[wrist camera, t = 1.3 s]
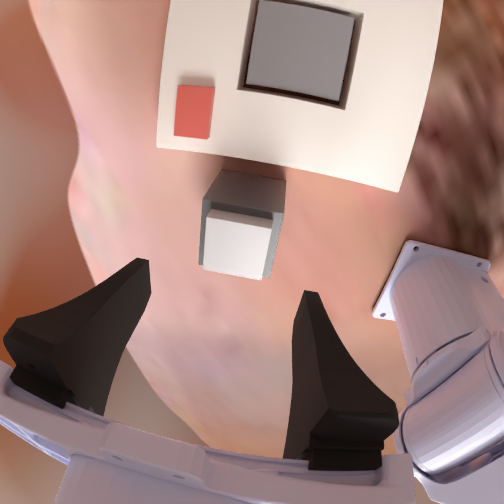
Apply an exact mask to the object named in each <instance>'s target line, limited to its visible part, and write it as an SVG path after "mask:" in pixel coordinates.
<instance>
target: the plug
mask: <svg viewBox="0 0 504 504" xmlns="http://www.w3.org/2000/svg"><path fill="white" fill-rule="evenodd" d="M285 190H286V181H284V180H278V179H273V178H268V177H262V176H256V175H251V174H245V173H239V172H233V171H227V170H221V172H220V173H219V175H218V176H217V178H216V179H215V181H214V182H213V184H212V185H211V187H210V188H209V190H208V192H207V193H206V195H205V196H204V198H203V202H202V216H201V231H200V248H199V265H203V269H204V270H209V271H215V272H220V273H225V274H230V275H235V276H240V277H246V278H251V279H256V280H261V279H262V277H267V278H270V274H271V270H272V265H273V261H274V257H275V252H276V248H277V243H278V239H279V234H280V230H281V225H282V221H283V216H284V206H285Z"/></svg>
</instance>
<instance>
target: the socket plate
mask: <svg viewBox="0 0 504 504" xmlns="http://www.w3.org/2000/svg"><path fill="white" fill-rule="evenodd" d="M258 1H259V0H258ZM265 1H273V2H280V3H287V4H293V5H299V6H304V7H310V8H315V9H319V10H324V11H329V12H333V13H337V14H341V15H345V16H349V17H352V18H355V19H356V21H355V26H354V32H353V37H352V43H351V48H350V53H349V59H348V64H347V69H346V74H345V79H344V84H343V88H342V93H341V98H340V103H339V105H335V104H330V103H326V102H322V101H317V100H313V99H308V98H303V97H298V96H293V95H288V94H282V93H277V92H271V91H265V90H258V89H251V88H244V87H243V85H244V78H245V72H246V65H247V59H248V52H249V46H250V40H251V34H252V28H253V22H254V16H255V10H256V4H257V0H171V2H170V8H169V15H168V22H167V29H166V36H165V44H164V52H163V61H162V71H161V82H160V94H159V107H158V123H157V145H156V147H159V148H169V149H177V150H186V151H194V152H201V153H209V154H216V155H223V156H229V157H236V158H242V159H248V160H254V161H260V162H265V163H271V164H276V165H281V166H287V167H292V168H297V169H302V170H306V171H311V172H316V173H321V174H325V175H330V176H334V177H338V178H343V179H347V180H351V181H355V182H359V183H363V184H367V185H371V186H375V187H379V188H382V189H386V190H390V191H393V192H397V193H398V191H399V188H400V186H401V183H402V180H403V177H404V173H405V170H406V167H407V164H408V161H409V158H410V154H411V151H412V148H413V144H414V141H415V137H416V134H417V130H418V127H419V123H420V119H421V116H422V112H423V108H424V104H425V100H426V95H427V91H428V87H429V82H430V78H431V73H432V68H433V63H434V58H435V53H436V47H437V42H438V35H439V29H440V22H441V15H442V7H443V0H265Z"/></svg>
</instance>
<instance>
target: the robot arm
mask: <svg viewBox="0 0 504 504" xmlns="http://www.w3.org/2000/svg"><path fill="white" fill-rule="evenodd" d="M416 246H418V247H417V248H416V249H413V248H414V247H416ZM478 263H479V264H478ZM490 265H491V263H490V262H489V260H487V259H483V258H479V257H476V256H472V255H468V254H465V253H461V252H457V251H453V250H449V249H446V248H442V247H438V246H434V245H430V244H426V243H422V242H418V241H414V240H408V241H407V242H405V244H404V246H403V248H402V250H401V253H400V255H399V257H398V259H397V261H396V264H395V266H394V268H393V270H392V272H391V274H390V276H389V279H388V281H387V283H386V285H385V287H384V289H383V291H382V293H381V295H380V297H379V299H378V301H377V303H376V305H375V307H374V309H373V310H372V315H373V317H375V318H380V319H388V320H395V322H396V325H397V329H398V333H399V336H400V340H401V344H402V348H403V352H404V356H405V360H406V364H407V368H408V372H409V376H410V381H411V386H410V388H409V389H408V390H407V391H406V392H405V398H406V404H407V407H405V408H404V409H403V410H402V411H401V412H400V413H399V415H398V411H397V408H396V404H395V402H394V401H393V400H392V399H390V398H389V397H388V396H387V395H386V394H385V393H383V392H382V391H381V390H380V389H379V388H378V387H377V386H376V385H375V384H374V383H373V382H372V381H371V380H370V379H369V378H368V377H367V376H366V374H365V373H364V372H363V371H362V370H361V369H360V367H359V366H358V365H357V364H356V362H355V361H354V360H353V358H352V357H351V356H350V354H349V353H348V351H347V350H346V348H345V346H344V345H343V343H342V342H341V340H340V338H339V336H338V335H337V333H336V331H335V329H334V327H333V325H332V323H331V321H330V319H329V317H328V315H327V313H326V310H325V308H324V306H323V303H322V301H321V299H320V296H319V294H318V293H317V292H312V291H306V290H304V293H303V296H302V299H301V302H300V305H299V308H298V311H297V313H296V316H295V319H294V324H293V334H292V374H293V385H292V398H291V407H290V415H289V423H288V430H287V437H286V443H285V449H284V454H283V459H282V458H272V457H264V456H256V455H249V454H243V453H237V452H231V451H225V450H220V449H215V448H210V447H205V446H200V445H195V444H191V443H187V442H183V441H179V440H175V439H171V438H168V437H164V436H160V435H157V434H153V433H150V432H146V431H143V430H140V429H137V428H134V427H130V426H128V425H125V424H122V423H119V422H116V421H114V420H111V419H108V418H105V417H103V415H104V411H105V406H106V402H107V399H108V395H109V391H110V388H111V384H112V381H113V378H114V375H115V372H116V369H117V366H118V363H119V361H120V358H121V356H122V353H123V351H124V349H125V346H126V344H127V343H128V341H129V339H130V337H131V335H132V333H133V331H134V329H135V328H136V326H137V324H138V322H139V320H140V318H141V316H142V315H143V313H144V311H145V308H146V306H147V303H148V300H149V298H150V295H151V284H150V271H149V260H146V259H141V258H136V259H134V260H133V261H131V262H130V263H129V264H127V265H126V266H125V267H123V268H122V269H120V270H119V271H118V272H116V273H115V274H113V275H112V276H110V277H109V278H108V279H106V280H105V281H103V282H102V283H100V284H98V285H97V286H95V287H94V288H92V289H91V290H89V291H88V292H86V293H84V294H82V295H80V296H78V297H77V298H75V299H73V300H70V301H68V302H66V303H64V304H61V305H59V306H57V307H55V308H52V309H49V310H46V311H43V312H40V313H37V314H34V315H29V316H25V317H21V318H17V319H16V321H15V322H14V323H13V324H12V326H11V327H10V329H9V330H8V331H7V333H6V334H5V335H4V337H3V342H4V345H5V347H6V349H7V351H8V352H9V354H10V356H11V357H12V359H13V360H14V362H15V363H16V367H15V369H14V370H13V369H12V368H11V367H10V366H9V365H7V364H5V363H4V362H2V361H0V424H1V425H3V426H4V427H6V428H7V429H8V430H10V431H12V432H13V433H14V434H16V435H17V436H19V437H21V438H22V439H24V440H25V441H27V442H28V443H30V444H31V445H33V446H35V447H36V448H38V449H40V450H41V451H43V452H45V453H46V454H48V455H50V456H52V457H53V458H55V459H57V460H59V461H60V462H62V463H64V464H66V465H68V466H67V469H66V472H65V475H64V477H63V480H62V482H61V485H60V488H59V490H58V493H57V496H56V499H55V501H54V504H415V503H416V494H415V482H414V476H415V477H416V478H417V479H418V480H419V481H420V482H421V483H422V485H423V486H424V488H425V490H426V492H427V494H428V496H429V498H430V499H431V500H432V501H435V502H438V503H442V504H504V299H503V297H502V296H501V294H500V292H499V291H498V289H497V288H496V286H495V284H494V283H493V281H492V280H491V278H490V277H489V275H488V274H487V271H488V270H489V268H490ZM381 313H383V314H381ZM393 432H394V442H395V447H396V450H397V453H398V454H389V455H384V456H382V455H381V450H383V449H384V440H385V439H386V438H387V437H389V436H390V435H391V434H392V433H393Z"/></svg>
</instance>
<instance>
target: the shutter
mask: <svg viewBox="0 0 504 504" xmlns="http://www.w3.org/2000/svg"><path fill="white" fill-rule="evenodd" d="M354 19H355V18H352V17H349V16H345V15H341V14H337V13H333V12H329V11H324V10H319V9H315V8H310V7H304V6H299V5H293V4H287V3H280V2H273V1H265V0H259V6H258V12H257V18H256V24H255V30H254V36H253V42H252V48H251V54H250V61H249V67H248V74H247V80H246V84H252V85H259V86H266V87H272V88H278V89H284V90H289V91H294V92H300V93H305V94H309V95H314V96H318V97H323V98H327V99H331V100H336V101H339V97H340V92H341V87H342V82H343V77H344V72H345V67H346V62H347V57H348V52H349V47H350V41H351V36H352V30H353V25H354Z"/></svg>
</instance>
